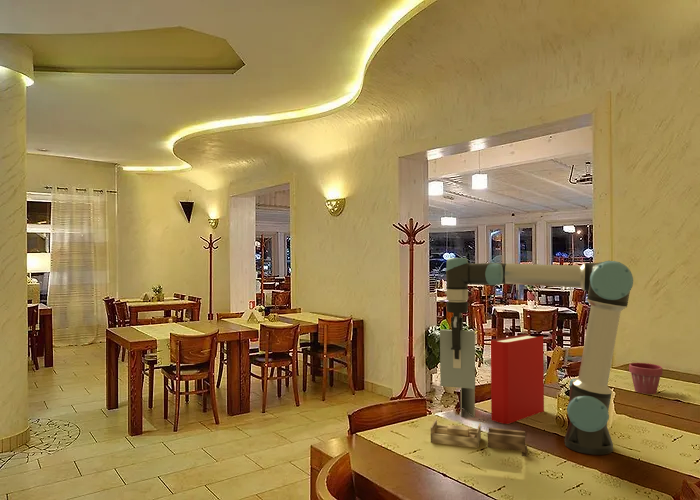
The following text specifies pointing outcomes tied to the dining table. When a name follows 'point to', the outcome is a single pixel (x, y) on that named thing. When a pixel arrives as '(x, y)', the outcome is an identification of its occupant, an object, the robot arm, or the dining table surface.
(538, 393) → the book
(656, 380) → the plant pot
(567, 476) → the dining table surface
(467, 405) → the tall grey block
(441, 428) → the tray
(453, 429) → the offcut
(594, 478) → the dining table surface
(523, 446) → the stand
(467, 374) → the grey panel
